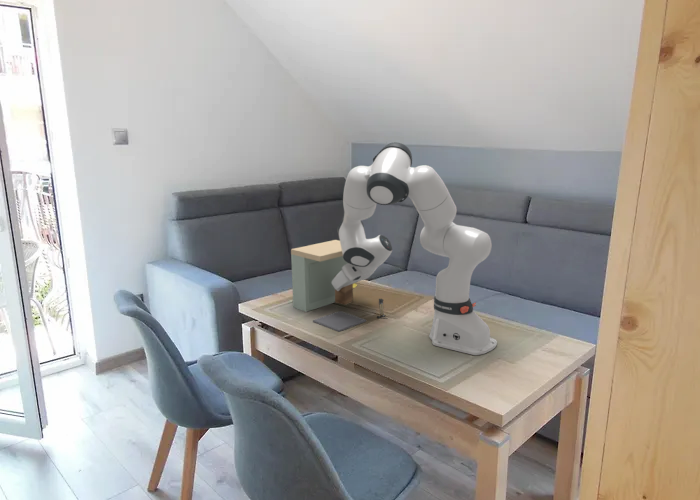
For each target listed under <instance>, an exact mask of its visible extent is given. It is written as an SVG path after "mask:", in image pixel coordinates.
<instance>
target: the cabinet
mask: <svg viewBox="0 0 700 500" xmlns="http://www.w3.org/2000/svg"><path fill="white" fill-rule="evenodd" d="M290 255H291V256H290V257H291V258H290V259H291V283H292V284H291V285H292V307H293V308H294V309H297V310H299V311H302V312H305V313H308V312H310V311H312V310H317V309H319V308H323V307H325V306H328V305H331V304H333V303H336V302H335V288H334V287H333V285H332V280H333V279H334V278H335V275H337V274H338V273H339V272H340V271H341V270H342V267H343V266H344V265H346V264H347V262H346V261H345V260H344V258H343V254H342V249H341V244H340V239H332V240H329V241H324V242H319V243H315V244H314V243H313V244H308V245H306V246H298V247H295V248H291V250H290Z"/></svg>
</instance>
